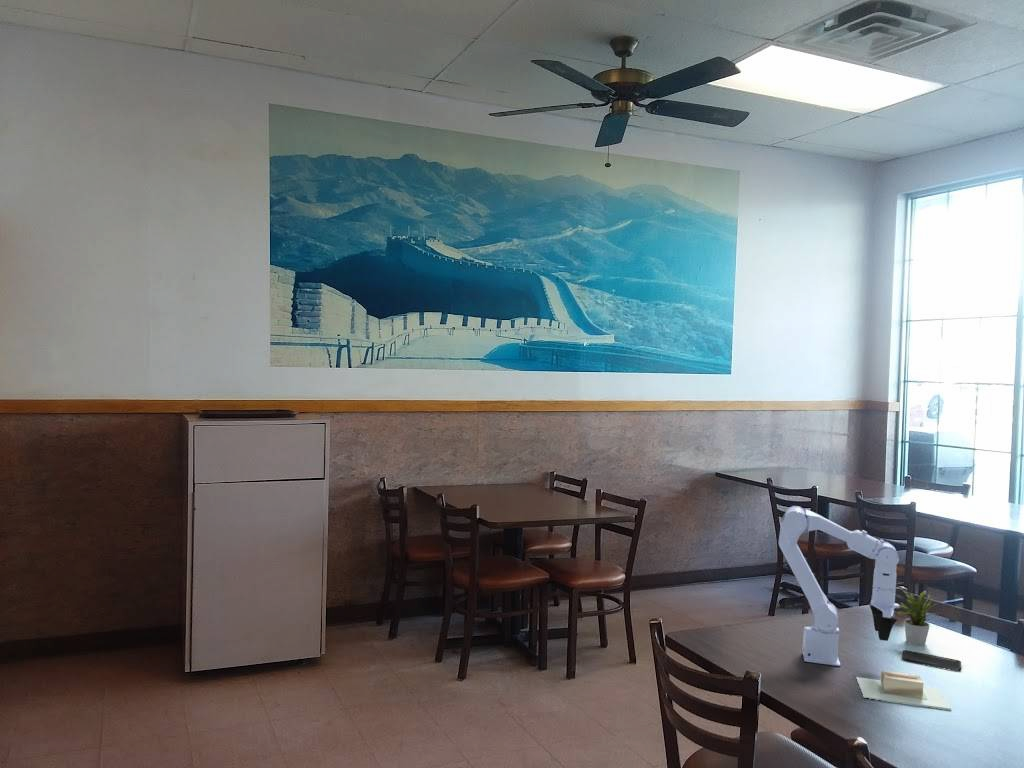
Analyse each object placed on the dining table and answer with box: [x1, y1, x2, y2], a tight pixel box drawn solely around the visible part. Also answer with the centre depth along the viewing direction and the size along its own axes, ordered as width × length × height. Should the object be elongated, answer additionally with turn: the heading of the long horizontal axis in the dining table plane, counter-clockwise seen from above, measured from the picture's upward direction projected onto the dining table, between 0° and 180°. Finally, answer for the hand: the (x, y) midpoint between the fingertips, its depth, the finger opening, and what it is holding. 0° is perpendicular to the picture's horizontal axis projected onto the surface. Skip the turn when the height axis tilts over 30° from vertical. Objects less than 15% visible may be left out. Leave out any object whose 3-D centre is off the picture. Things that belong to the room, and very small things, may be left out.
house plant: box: [895, 588, 940, 647], centre depth 247 cm, size 14×14×16 cm
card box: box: [880, 670, 924, 698], centre depth 207 cm, size 5×9×4 cm, turn 74°
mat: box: [855, 676, 952, 712], centre depth 208 cm, size 20×13×1 cm, turn 75°
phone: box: [901, 649, 962, 672], centre depth 231 cm, size 8×1×15 cm
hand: (881, 635), depth 224 cm, fingers open, 7 cm apart
